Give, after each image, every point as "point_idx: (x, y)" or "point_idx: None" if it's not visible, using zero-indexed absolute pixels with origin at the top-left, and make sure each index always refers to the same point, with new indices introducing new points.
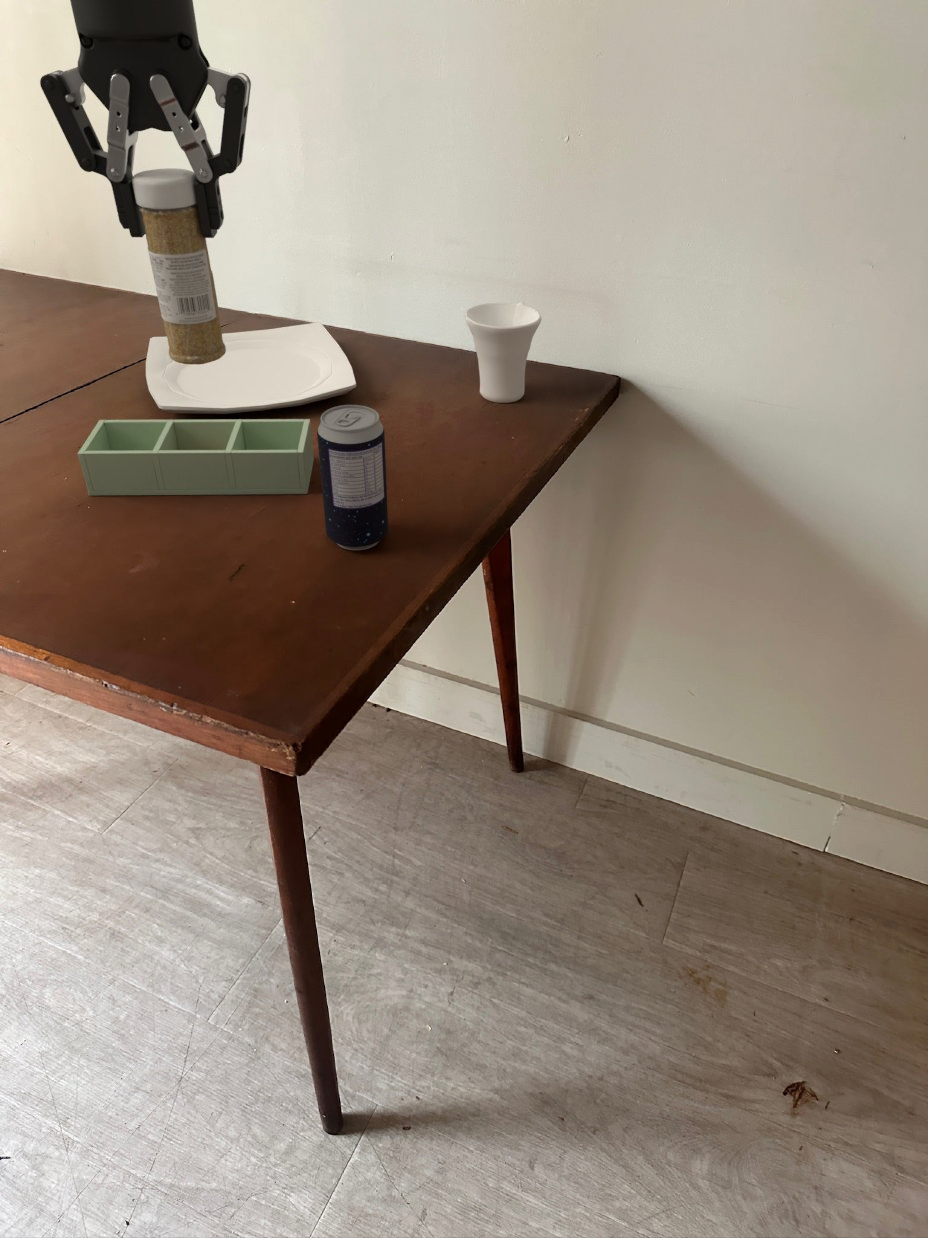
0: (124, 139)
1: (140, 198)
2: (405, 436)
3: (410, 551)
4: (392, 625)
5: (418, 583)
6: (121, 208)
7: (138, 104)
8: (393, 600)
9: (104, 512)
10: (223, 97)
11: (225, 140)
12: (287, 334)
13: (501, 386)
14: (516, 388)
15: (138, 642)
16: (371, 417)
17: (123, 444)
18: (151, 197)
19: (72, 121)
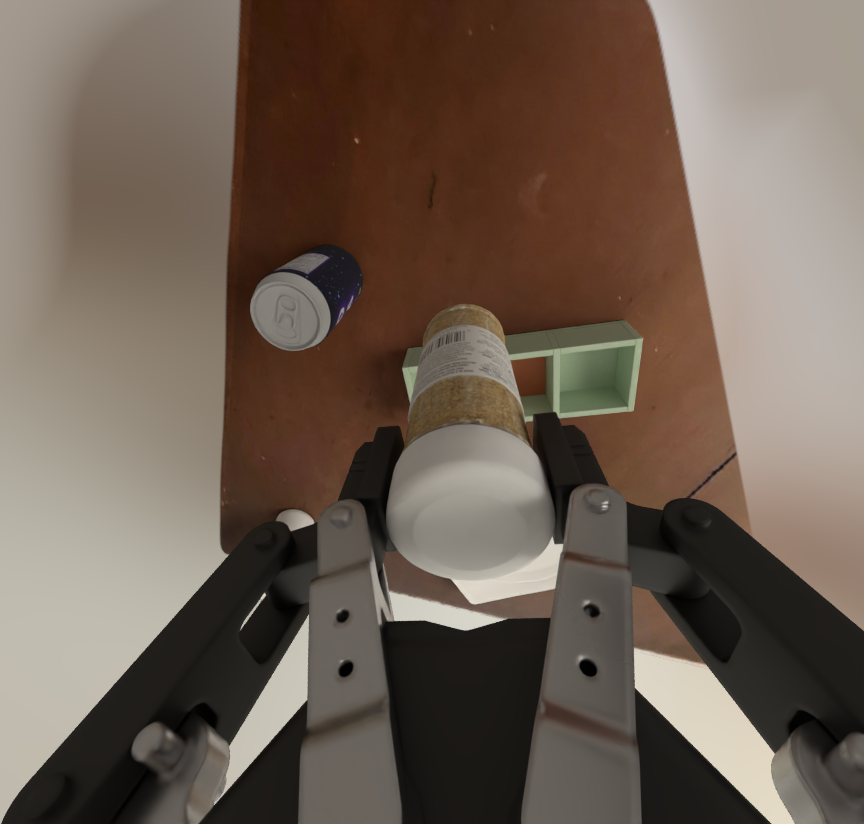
0: (561, 573)
1: (519, 448)
2: (352, 452)
3: (278, 258)
4: (243, 110)
5: (249, 199)
6: (580, 452)
7: (505, 721)
8: (261, 161)
9: (601, 290)
10: (134, 749)
11: (233, 596)
12: (498, 589)
13: (287, 519)
14: (277, 520)
15: (497, 17)
16: (264, 323)
17: (604, 394)
18: (481, 439)
19: (802, 642)
